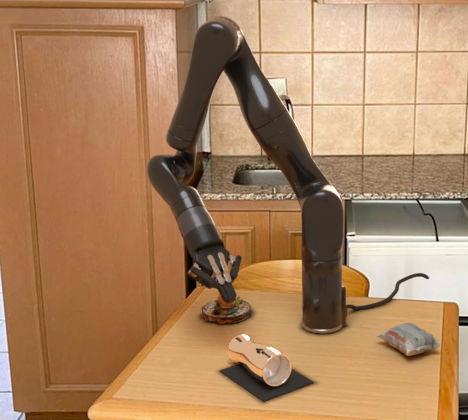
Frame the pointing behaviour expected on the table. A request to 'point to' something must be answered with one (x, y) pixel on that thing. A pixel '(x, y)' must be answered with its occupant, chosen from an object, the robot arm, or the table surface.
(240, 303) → the floral plate with food
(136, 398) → the table surface
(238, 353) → the copper cup
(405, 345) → the packaged food
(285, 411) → the table surface
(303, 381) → the mat
